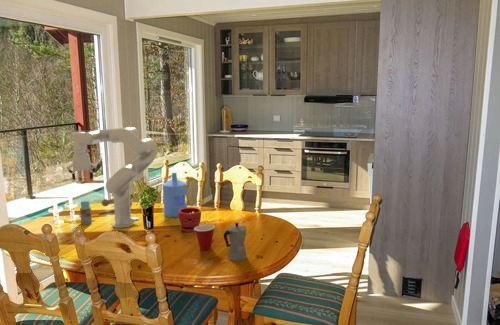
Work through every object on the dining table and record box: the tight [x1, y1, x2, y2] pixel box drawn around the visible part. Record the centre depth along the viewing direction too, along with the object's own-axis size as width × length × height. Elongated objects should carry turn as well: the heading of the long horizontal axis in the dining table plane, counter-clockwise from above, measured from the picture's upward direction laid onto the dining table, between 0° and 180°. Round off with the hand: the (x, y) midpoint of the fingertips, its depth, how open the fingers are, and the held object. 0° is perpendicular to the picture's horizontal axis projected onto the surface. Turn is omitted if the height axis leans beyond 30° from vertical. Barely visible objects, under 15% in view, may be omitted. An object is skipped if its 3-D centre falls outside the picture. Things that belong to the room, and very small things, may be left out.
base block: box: [80, 215, 93, 225], centre depth 259 cm, size 6×4×5 cm
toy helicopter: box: [101, 194, 133, 208], centre depth 289 cm, size 8×21×14 cm, turn 131°
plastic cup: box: [194, 224, 216, 251], centre depth 217 cm, size 11×11×12 cm
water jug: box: [162, 172, 188, 218], centre depth 274 cm, size 16×16×28 cm
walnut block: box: [79, 206, 92, 218], centre depth 258 cm, size 6×4×5 cm
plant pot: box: [178, 207, 202, 233], centre depth 246 cm, size 13×13×12 cm
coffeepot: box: [223, 222, 247, 262], centre depth 204 cm, size 15×9×18 cm, turn 137°
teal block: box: [80, 198, 91, 210], centre depth 257 cm, size 4×6×5 cm
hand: (82, 179), depth 254 cm, fingers open, 9 cm apart
